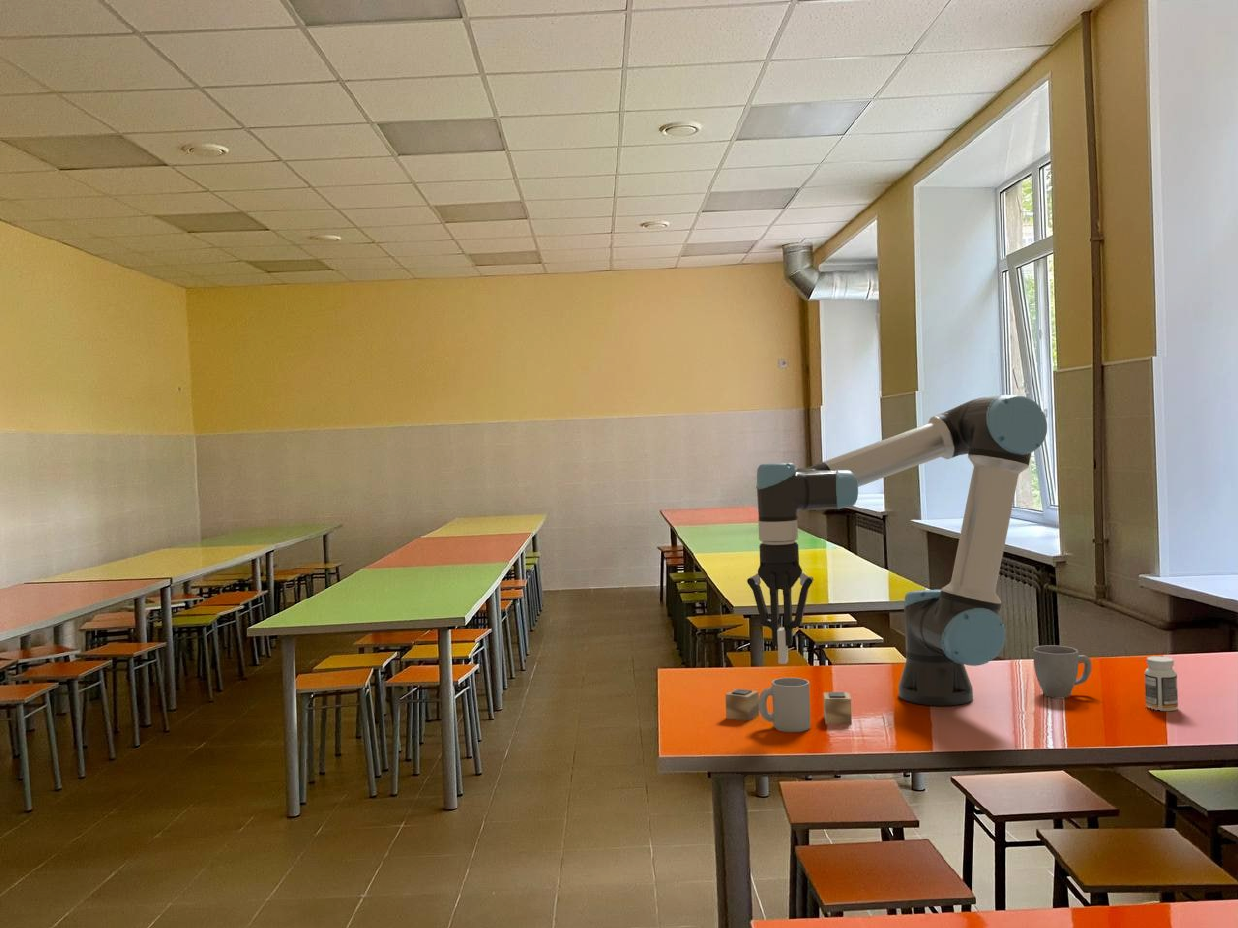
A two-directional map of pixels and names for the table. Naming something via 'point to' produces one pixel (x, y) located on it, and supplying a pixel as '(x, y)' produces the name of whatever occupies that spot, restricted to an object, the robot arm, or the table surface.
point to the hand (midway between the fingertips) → (783, 662)
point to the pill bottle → (1161, 684)
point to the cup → (787, 704)
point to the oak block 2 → (837, 708)
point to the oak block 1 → (742, 704)
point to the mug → (1059, 669)
